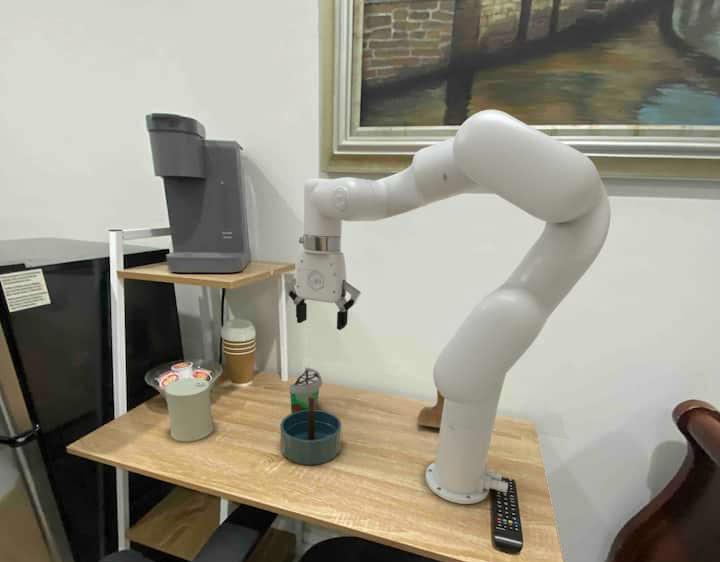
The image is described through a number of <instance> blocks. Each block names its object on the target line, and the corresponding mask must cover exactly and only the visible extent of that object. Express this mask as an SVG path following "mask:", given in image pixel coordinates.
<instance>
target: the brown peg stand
mask: <svg viewBox="0 0 720 562" xmlns="http://www.w3.org/2000/svg"><path fill="white" fill-rule="evenodd" d="M318 439H320V438H319V437H317V436H315V396H313V395H310V396H309V397H308V436H306V437H304V438H303V439H302V440H318Z"/></svg>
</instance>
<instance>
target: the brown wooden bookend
mask: <svg viewBox="0 0 720 562" xmlns="http://www.w3.org/2000/svg"><path fill="white" fill-rule="evenodd" d="M436 394H437V396H436V397H437V399H436V404H435V405H434V406H424V407H423V408H422V409H420V411H419V414H418V417H417V425H418V426H423V427H424V426H425V427H429V428H435V429H440V426H441V419H442V412H443V405H444V399H445V398H444V397H443V396H442V395H441V394H440V393H439V391H438V390H437V389H436Z"/></svg>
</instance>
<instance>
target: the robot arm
mask: <svg viewBox="0 0 720 562" xmlns="http://www.w3.org/2000/svg"><path fill="white" fill-rule="evenodd" d="M303 187H304V188H303V194H304V195H303V225H304V226H303V229H304V230H303V236H299V238H298V243H299V244H302V245H303V249H301V250H299V255H298V260H297V266H296V278H293V279H291V280H289V281H287V282H285V283H284V286H285V288H286V291H287V292H288V296H289V297H290V299H291V300H292V301H293V305H294V306H295V317H296V323H297V324H302V323H303V322H305V321H307V316H308V315H307V314H308V313H307V312H308V309H307V308H308V305H307V302H306V300H308V301H315V302H320V303H321V302H322V303H328V304H329V303H330V304H335V305H336V306H337V308H338V311H337V313H336V330H338V331H341V330H343V329H344V328H345V327H346V326H347V325H348V318H349V317H348V315H349V310H350V309H351V308H352V307H353V306H354V305H355V304H356V303H357V301H358V300H359V297H360V296H361V291H360V290H359V289H357V288H356V287H354V286H353V285H352V284H350V283H349V282H347V268H346V261H345V254H344V252H342V225H343V223H342V222H343V221H344V222H376V221H382V220H386V219H388V218H391V217H396V216H398V215H399V216H400V215H402V214H405V213H409V212H411V211H414V210H417V209H420V208H424V207H426V206H428V205H430V204H433V203H436V202H439V201H443V200H447V199H450V198H453V197H457V196H460V195H464V194H467V193H470V192H473V191H474V192H475V191H477V190H481V189H485V190H488V191H490V192H491V193H493V194H494V195H496V196H498V197H500V198H502V199H503V200H505V201H507V202H508V203H510V204H512V205H513V206H515V207H517V208H519V210H522V211H524V212H525V213H527V214H528V215H530V216H531V217H534V218H535V219H537V220H540V221H542V222H545V225H544V228H543V230H542V233H541V234H540V235H539V237H538V238H537V240H536V241H535V243H534V244H533V245H532V246H531V247H530V249H529V250H528V251H527V252H526V254H525V255H524V257H523V258H522V260H521V261H520V263H519V264H518V265H517V267H516V268H515V269H514V270H513V272H512V273H511V274H510V275H509V276H508V277H507V279H506V280H505V281H504V282H503V283H502V284H501V285H500V286H498V287H497V288H496V289H494V290H492V291H491V292H489V293H488V294H486V295H485V296H484V297H483V298H481V300H480V301H479V302H478V303H477V304H476V305H475V307H473V308H472V309H471V311H470V313H469V314H468V315H467V317H466V318H465V319H464V321H463V322H462V323H461V325H460V326H459V327H458V329H457V330H456V331H455V332H454V335H453V336H452V337H451V338H450V339H449V341H448V342H447V343H446V345H445V346H444V348H443V349H442V351H440V353H439V355H438V356H437V358H436V360H435V362H434V365H433V370H432V378H433V382H434V386H435V388H436V391H437V390H438V391H439V393H440V394H441V395H442V396H443V397H444V398H445V399H444V405H443V412H442V419H441V426H440V428H439V435H438V440H437V448H436V455H435V461H434V462H431V463H430V464H429V465H428V466H427V467H426V471H425V478H424V479H425V483H426V484H427V486H428V487H429V489H430V490H431V491H432V492H433V493H434V494H435V495H437V496H438V497H440V498H441V499H443V500H446V501H448V502H451V503H455V504H461V505H472V504H477V503H480V502H482V501H484V500H485V499H486V498H487V497H488V496H489V493H490V489H492V490H495V491H497V492H499V493H500V492H501V493H504V494H507V493H508V489H509V482H506V481H503V480H502V479H503V478H502V477H503V475H502V474H499V473H496V472H491V471H490V469H488V462H487V461H488V455H489V452H490V446H491V440H492V436H493V430H494V426H495V421H496V416H497V413H498V407H499V402H500V399H501V393H502V389H503V387H504V382H505V379H506V375H507V373H508V372H509V371H510V370H511V369H512V367H513V366H514V365H515V364H516V363H517V362H518V361H519V360H520V359H521V358H522V356H523V355H524V354H525V353H526V352H527V351H528V349H530V347H531V346H532V344H534V342H535V341H536V339H537V338H538V337H539V335H540V333H542V330H543V328H544V327H545V325H546V323H547V321H548V319H549V318H550V316H551V315H552V314H553V312H554V311H555V310H556V309H557V307H558V306H559V305H560V304H561V303H562V302H563V301H564V299H565V298H567V296H568V295H569V294H570V292H571V291H572V290H573V288H574V287H575V286H576V285H577V284H578V282H579V281H580V280H581V279H582V277H584V275H585V274H586V273H587V271H588V270H589V269H590V268H591V266H592V265H593V264H594V262H595V261H596V259H597V257H598V256H599V254H600V252H601V251H602V249H603V247H604V245H605V242H606V240H607V237H608V234H609V230H610V224H611V203H610V200H609V196H608V193H607V190H606V187H605V185H604V183H603V181H602V178H601V176H600V173H599V171H598V170H597V167H596V165H595V164H594V162H593V161H592V160H591V159H590V158H589V157H588V156H587V155H586V154H584V153H583V152H582V151H579V150H577V149H576V148H574V147H572V146H571V145H568V144H566V143H565V142H562V141H560V140H558V139H556V138H554V137H552V136H551V135H548V134H546V133H544V132H542V131H540V130H538V129H536V128H535V127H532V126H530V125H529V124H527V123H525V122H523V121H521V120H519V119H518V118H517V117H514V116H512V115H510V114H509V113H507V112H505V111H502V110H499V109H485V110H481V111H478V112H476V113H474V114H472V115H471V116H469V117H468V118H467V119H466V120H465V121H464V122H463V123H462V124H461V125H460V127H459V128H458V130H457V131H456V133H455V135H454V136H453V137H451V138H448V139H445V140H443V141H442V140H441V141H440V142H437V143H434V144H431V145H429V146H428V145H427V146H426V147H423V148H420V149H419V150H417V151H416V152H415V154H414V155H413V158H412V161H411V164H410V165H409V166H408V167H407V168H406V169H403V170H402V171H400V172H397V173H394V174H391V175H389V176H386V177H383V178H380V179H376V180H372V179H367V178H359V177H353V176H352V177H351V176H345V177H344V176H343V177H337V178H321V177H320V178H319V177H316V178H315V177H314V178H312V177H311V178H309V179H307V180H305V183H304V186H303ZM347 293H348V294H349V295H350V298H349V299H348V300H347V299H346V296H347Z"/></svg>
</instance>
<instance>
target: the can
mask: <svg viewBox="0 0 720 562" xmlns="http://www.w3.org/2000/svg"><path fill="white" fill-rule="evenodd" d="M164 392H165V397H166V398H165V399H166V403H167V410H168V416H169V417H168V419H169V426H170V436H171V438H172V439H174V440H176V441H178V442H185V443H187V442H188V443H189V442H195V441H198V440H201V439H204V438H206V437H208V436H209V435H211V434H212V432H213V431H214V425H213V423H214V422H213V419H212V417H213V416H212V407H211V395H210V383H209V381H208V380H206V379H203V378H200V377H185V378H180V379H177V380H174V381H171V382H170V383H168V384H167V385H165V387H164Z"/></svg>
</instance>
